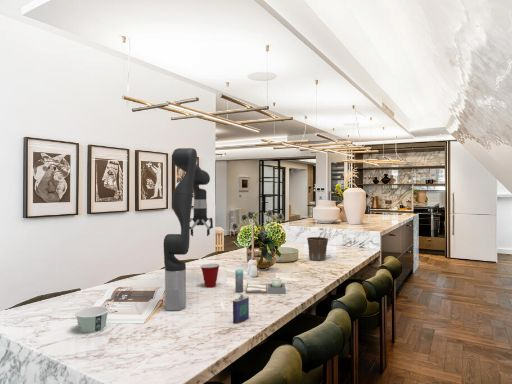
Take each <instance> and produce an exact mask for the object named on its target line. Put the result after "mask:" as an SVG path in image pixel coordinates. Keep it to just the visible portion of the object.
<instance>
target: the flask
mask: <svg viewBox="0 0 512 384" xmlns="http://www.w3.org/2000/svg"><path fill="white" fill-rule="evenodd" d="M249 299H250V297H249V296H248V295H245V294H242V293H239V297H238V298H235V299H233V301H232V324H233V325H237V324H241V323H242V322H243V323H244V322H245V321H247V320H248V319H249V318H250V312H249V311H250V306H249V305H250V303H249V302H250V300H249Z"/></svg>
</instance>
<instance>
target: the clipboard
mask: <svg viewBox="0 0 512 384" xmlns="http://www.w3.org/2000/svg"><path fill="white" fill-rule="evenodd" d="M245 294H264V295H265V294H268V283H247V284H246V289H245Z"/></svg>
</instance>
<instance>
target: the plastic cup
mask: <svg viewBox="0 0 512 384" xmlns="http://www.w3.org/2000/svg"><path fill="white" fill-rule="evenodd" d="M220 265H221V264H220V263H205V264H201V265H200V266H199V267H200V268H201V272H202V277H203V282H204V287H206V288H208V289H211V288H212V289H213V288H215V287H216V285H217V281H218V280H217V279H218V273H219V269H220V268H219V267H220Z"/></svg>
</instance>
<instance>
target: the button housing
mask: <svg viewBox="0 0 512 384" xmlns="http://www.w3.org/2000/svg"><path fill="white" fill-rule="evenodd" d="M286 290H287V289H286V284H285V283H281V287H272V282H271V283H267V294H268V295H286Z"/></svg>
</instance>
